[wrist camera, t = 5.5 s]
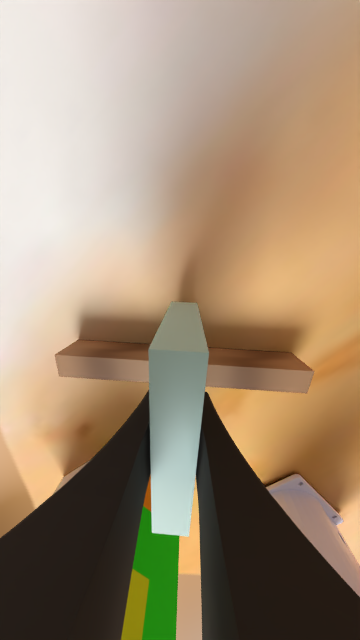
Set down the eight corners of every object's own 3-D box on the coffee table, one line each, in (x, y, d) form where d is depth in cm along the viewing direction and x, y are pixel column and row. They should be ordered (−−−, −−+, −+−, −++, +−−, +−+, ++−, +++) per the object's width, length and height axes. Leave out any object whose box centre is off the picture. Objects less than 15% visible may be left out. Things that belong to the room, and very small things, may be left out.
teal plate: (171, 301, 12) (148, 348, 5) (197, 302, 12) (208, 352, 5) (168, 412, 15) (151, 532, 8) (188, 413, 15) (188, 536, 8)
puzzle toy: (64, 476, 20) (-52, 667, 10) (121, 440, 18) (42, 641, 8) (122, 518, 22) (70, 712, 12) (180, 490, 20) (173, 701, 10)
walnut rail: (291, 352, 14) (314, 371, 11) (286, 371, 14) (307, 393, 12) (78, 339, 14) (54, 354, 12) (80, 358, 15) (59, 376, 12)
